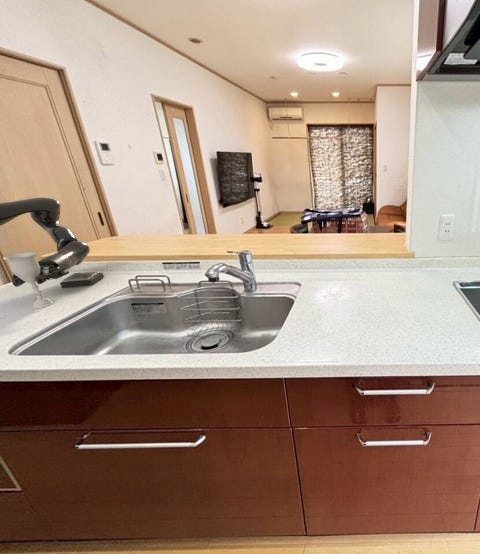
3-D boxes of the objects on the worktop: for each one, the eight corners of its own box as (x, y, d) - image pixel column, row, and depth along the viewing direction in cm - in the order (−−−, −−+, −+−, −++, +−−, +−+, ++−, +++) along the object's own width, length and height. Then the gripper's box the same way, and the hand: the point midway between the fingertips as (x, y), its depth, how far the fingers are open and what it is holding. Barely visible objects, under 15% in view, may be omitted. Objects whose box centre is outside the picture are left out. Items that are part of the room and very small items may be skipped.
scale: (61, 288, 115) (58, 281, 114) (75, 279, 123) (73, 272, 122) (92, 285, 118) (89, 278, 117) (104, 277, 126) (101, 270, 125)
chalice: (58, 298, 107) (36, 251, 100) (58, 304, 102) (35, 255, 96) (28, 304, 102) (4, 255, 95) (27, 311, 98) (1, 260, 91)
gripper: (24, 258, 107) (-10, 275, 92) (75, 254, 112) (50, 269, 97) (33, 277, 110) (2, 296, 95) (82, 272, 115) (59, 289, 100)
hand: (26, 282), depth 96 cm, fingers closed on chalice, 5 cm apart
